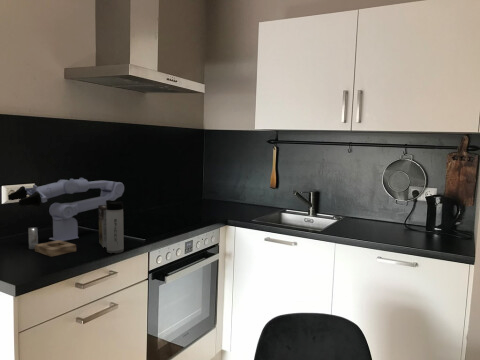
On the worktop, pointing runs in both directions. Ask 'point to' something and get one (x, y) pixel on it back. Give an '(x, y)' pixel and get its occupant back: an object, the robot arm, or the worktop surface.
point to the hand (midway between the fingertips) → (13, 200)
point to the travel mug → (114, 226)
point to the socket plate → (55, 248)
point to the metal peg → (33, 237)
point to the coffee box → (102, 225)
